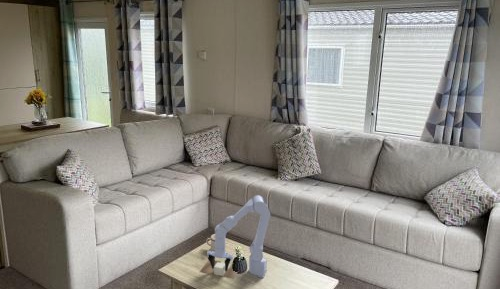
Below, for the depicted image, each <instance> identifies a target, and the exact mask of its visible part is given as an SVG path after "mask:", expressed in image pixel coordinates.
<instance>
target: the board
mask: <svg viewBox="0 0 500 289" xmlns="http://www.w3.org/2000/svg"><path fill="white" fill-rule="evenodd" d="M217 262H219V263H224V264H225V261H222V260H221V261H220V260H216V259H215V265H216V263H217ZM232 264H233V263H232V262H230V263H229V266H228V270H227V271H226V272H225V273H224V275H223V276H220V275H215V274H214V268H213V269H212V266H211V263H210V261H209V260H207V261H206V263H204V265H203V267H201V269H200V271H199V273H203V274H208V275H213V276H217V277H222V278H227V279H235V278H236V275H237V274H238V272H239V271H238V272H235V271H233V269H232Z"/></svg>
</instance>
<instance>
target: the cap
mask: <svg viewBox="0 0 500 289" xmlns="http://www.w3.org/2000/svg"><path fill="white" fill-rule="evenodd" d="M225 272H226V271H225V264H224V263H219V262H217V263H216V265H215V266H214V274H215V275H214V276H217V275H220V276H219V277H222V276H223V275H224V273H225Z"/></svg>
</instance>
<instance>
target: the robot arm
mask: <svg viewBox="0 0 500 289" xmlns="http://www.w3.org/2000/svg"><path fill="white" fill-rule="evenodd" d="M249 213H257V214H259V215H260V216H259V221H258V225H257V228H256V233H255V236H254V239H253V240H252V243H251V245H250V246H249V252H250V254H249V263H248V272H249V273H250V274H251V275H253V276H254V275H255V276H256V278H262V279H264V277H265V275H266V273H267V272H268V271H267V265H268V264H267V262H268V260H267V259H266V258H264V254H263V252H264V251H263V250H264V241H265V238H266V234H267V231H268V226H269V224H270V223H269V222H270V219H271V212H270V209H269V206H268V205H267V203H266V200H265V199H264V197H263V196H261V195H259V194H256V195H254V196H253V197H251V198H250V199H249V200H248V201H247V202H246V203H245V204H244V205H243V206H242V207H241V208H239V210H238V211H237V212H236V213H235V214H233V215H229V216H227V217H225V219H224V220H223V221H222V222H219V224H217V225H216V226H215V227H214V234H215V251H211V250H207V252H206V256H207V259H208V260H209V261H210V263H211V266H212V269H213V268H214V266H215V260H216V258H217V259H225V260H224V262H225V271H227V270H228V266H229V263H231V261H233V260H234V255H233V254H231V253H230V254H229V253H227V252H226V240H227V239H226V236H227V233H228V232H230V230H232V229H233V228H234V227H235V226H237V225H238V221H239V220H241V219H242V218H243V217H245V216H246V215H247V214H249ZM208 260H207V261H208Z"/></svg>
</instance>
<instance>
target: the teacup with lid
mask: <svg viewBox="0 0 500 289" xmlns="http://www.w3.org/2000/svg"><path fill="white" fill-rule="evenodd" d="M205 241H206V245H208V247H210V251H215V233H214V234H211V236H210V237H207V239H206V240H205ZM209 241H210V243H209Z"/></svg>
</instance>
